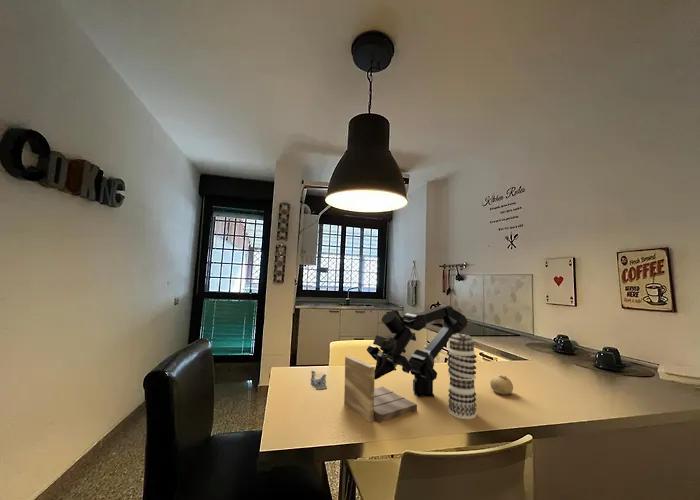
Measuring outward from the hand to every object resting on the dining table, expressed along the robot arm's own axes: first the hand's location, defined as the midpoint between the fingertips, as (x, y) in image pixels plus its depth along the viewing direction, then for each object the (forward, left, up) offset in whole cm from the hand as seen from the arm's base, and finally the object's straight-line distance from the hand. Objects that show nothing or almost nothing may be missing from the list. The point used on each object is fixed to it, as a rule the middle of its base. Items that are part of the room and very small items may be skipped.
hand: (374, 378), depth 101 cm
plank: (+6, +4, -9) cm, 12 cm away
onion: (-52, -13, -10) cm, 54 cm away
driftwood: (+19, -26, -10) cm, 34 cm away
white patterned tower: (-29, +4, -10) cm, 30 cm away
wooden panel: (-3, -2, -9) cm, 10 cm away
